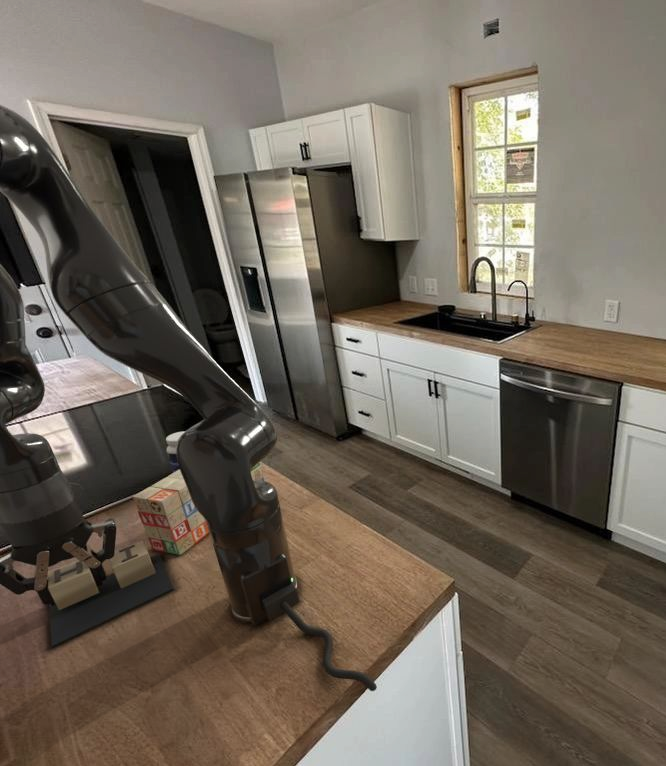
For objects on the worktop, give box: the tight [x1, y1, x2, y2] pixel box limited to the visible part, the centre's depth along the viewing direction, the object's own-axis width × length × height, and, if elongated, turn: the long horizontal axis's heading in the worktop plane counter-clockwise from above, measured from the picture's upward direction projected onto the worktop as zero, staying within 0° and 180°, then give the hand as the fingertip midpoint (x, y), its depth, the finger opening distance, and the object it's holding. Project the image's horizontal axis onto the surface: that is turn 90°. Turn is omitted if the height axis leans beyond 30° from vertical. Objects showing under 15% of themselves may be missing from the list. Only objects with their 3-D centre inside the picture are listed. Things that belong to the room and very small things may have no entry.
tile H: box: [47, 559, 99, 610], centre depth 65 cm, size 4×4×5 cm
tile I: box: [109, 540, 155, 589], centre depth 70 cm, size 4×4×5 cm
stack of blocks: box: [132, 462, 265, 556], centre depth 83 cm, size 21×6×12 cm, turn 168°
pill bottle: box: [165, 430, 186, 473], centre depth 98 cm, size 6×6×10 cm
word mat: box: [48, 553, 175, 649], centre depth 67 cm, size 11×14×1 cm
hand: (78, 591), depth 66 cm, fingers closed on tile H, 4 cm apart
